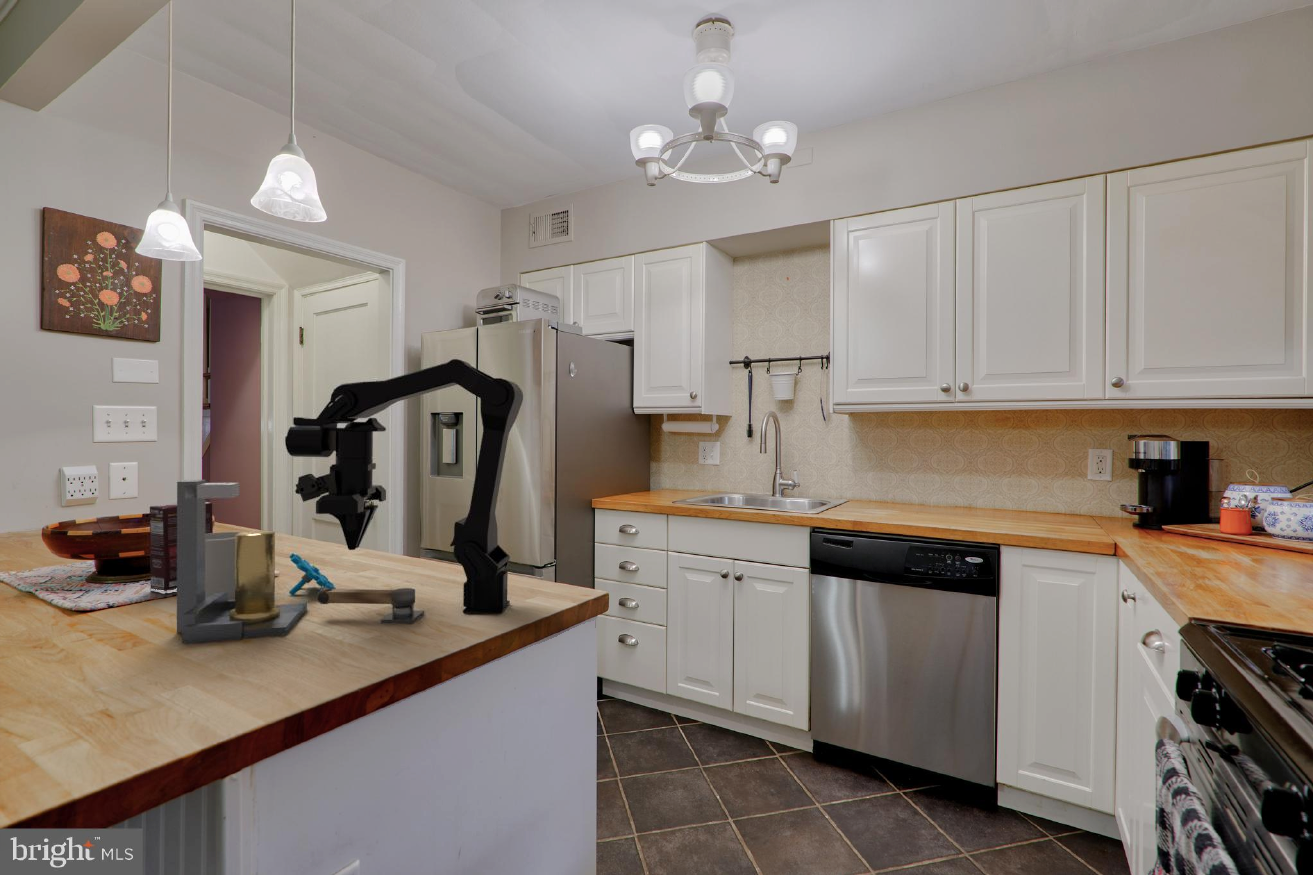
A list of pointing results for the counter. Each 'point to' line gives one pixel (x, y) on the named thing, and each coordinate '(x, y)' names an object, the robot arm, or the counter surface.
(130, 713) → the counter surface
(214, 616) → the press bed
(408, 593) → the lever
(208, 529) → the supplement box
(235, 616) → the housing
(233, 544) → the mug
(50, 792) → the counter surface
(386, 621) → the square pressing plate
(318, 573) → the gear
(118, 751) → the counter surface
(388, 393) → the robot arm
